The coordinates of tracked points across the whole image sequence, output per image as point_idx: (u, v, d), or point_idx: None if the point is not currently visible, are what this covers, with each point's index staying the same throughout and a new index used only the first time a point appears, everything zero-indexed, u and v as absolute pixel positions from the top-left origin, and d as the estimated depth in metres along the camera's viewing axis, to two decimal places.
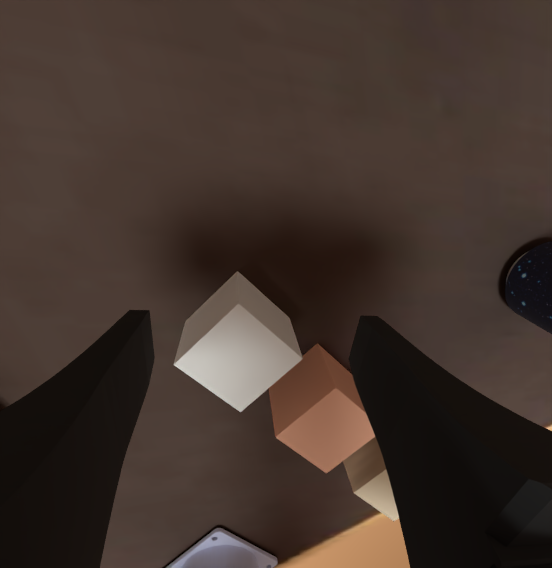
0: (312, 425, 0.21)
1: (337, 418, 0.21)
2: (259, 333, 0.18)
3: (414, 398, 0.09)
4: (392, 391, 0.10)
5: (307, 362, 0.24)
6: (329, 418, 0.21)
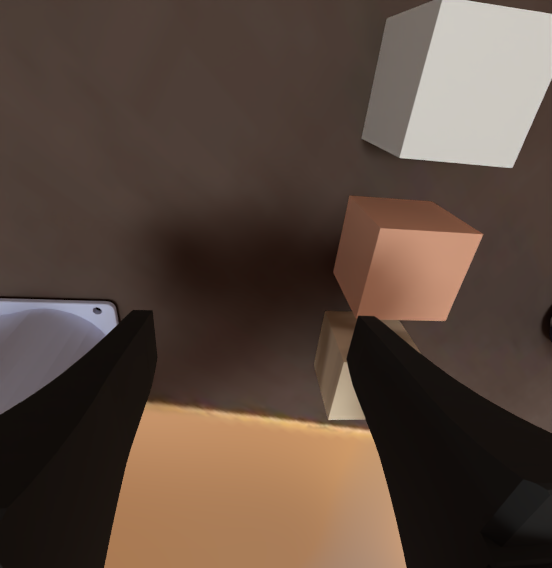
0: (418, 253, 0.16)
1: (439, 269, 0.17)
2: (535, 84, 0.13)
3: (411, 398, 0.09)
4: (389, 391, 0.10)
5: (420, 206, 0.19)
6: (436, 261, 0.16)
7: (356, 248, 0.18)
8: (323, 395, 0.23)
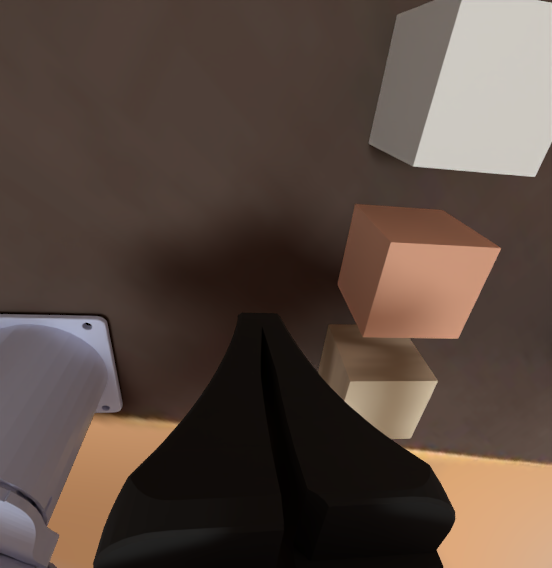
0: (431, 268, 0.15)
1: (453, 285, 0.15)
2: None
3: (276, 399, 0.08)
4: (269, 391, 0.09)
5: (431, 215, 0.18)
6: (449, 277, 0.15)
7: (363, 261, 0.17)
8: None
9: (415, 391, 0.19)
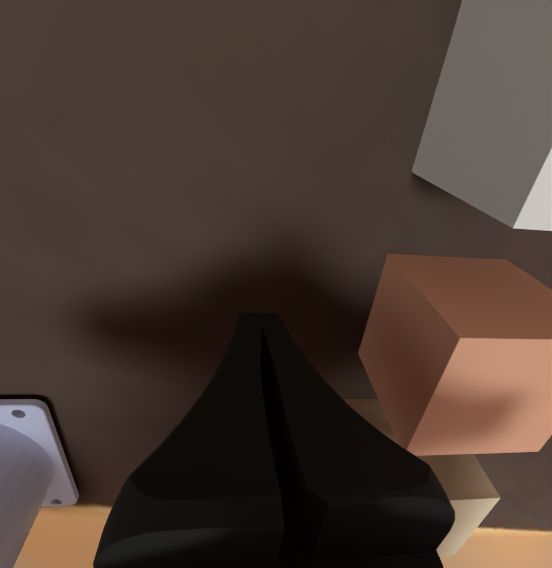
0: (516, 369, 0.10)
1: (545, 389, 0.10)
2: None
3: (276, 399, 0.08)
4: (269, 392, 0.09)
5: (496, 271, 0.12)
6: (542, 379, 0.10)
7: (403, 342, 0.12)
8: None
9: (468, 509, 0.14)
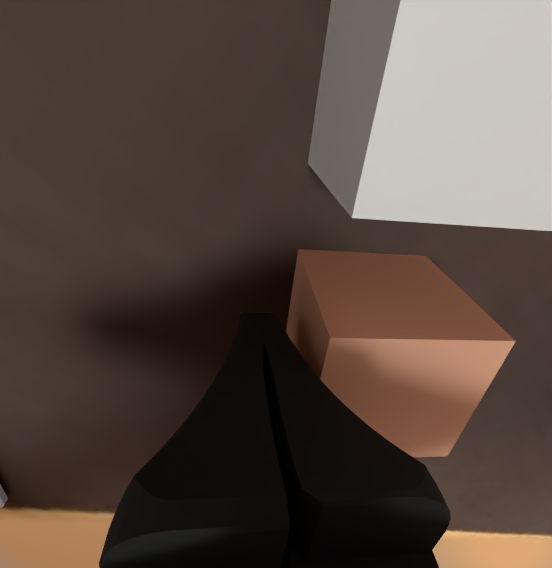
0: (401, 371, 0.09)
1: (438, 392, 0.10)
2: None
3: (273, 399, 0.08)
4: (266, 392, 0.09)
5: (408, 268, 0.12)
6: (432, 381, 0.09)
7: (303, 342, 0.11)
8: None
9: None
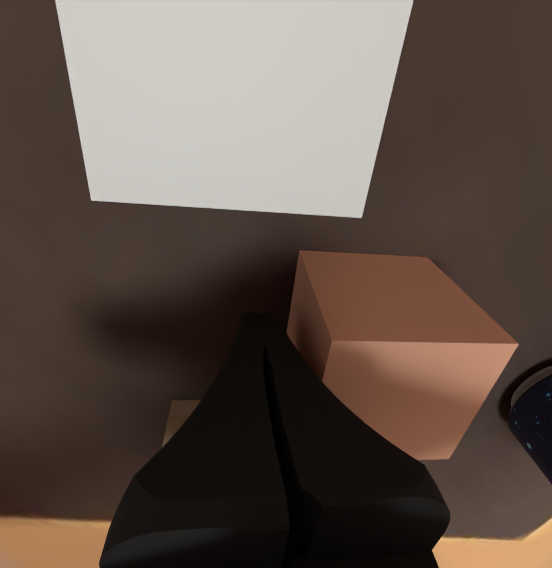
0: (403, 374, 0.09)
1: (441, 395, 0.10)
2: (373, 27, 0.05)
3: (273, 399, 0.08)
4: (266, 392, 0.09)
5: (410, 270, 0.12)
6: (434, 384, 0.09)
7: (304, 343, 0.11)
8: None
9: None
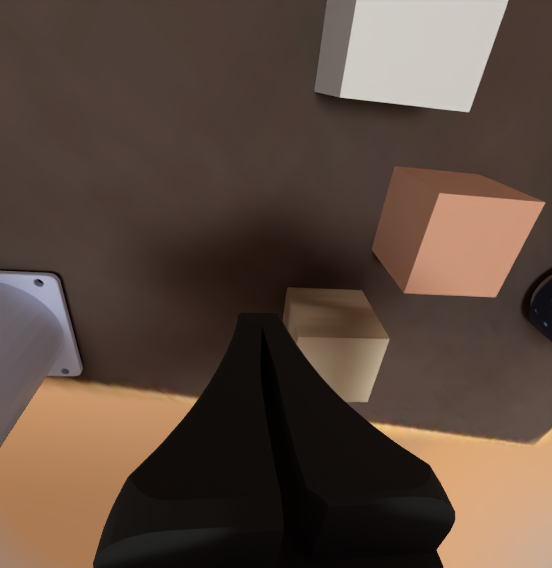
0: (476, 221, 0.15)
1: (496, 240, 0.16)
2: (490, 10, 0.11)
3: (276, 399, 0.08)
4: (269, 392, 0.09)
5: (470, 177, 0.18)
6: (493, 231, 0.16)
7: (404, 219, 0.17)
8: None
9: (367, 350, 0.19)
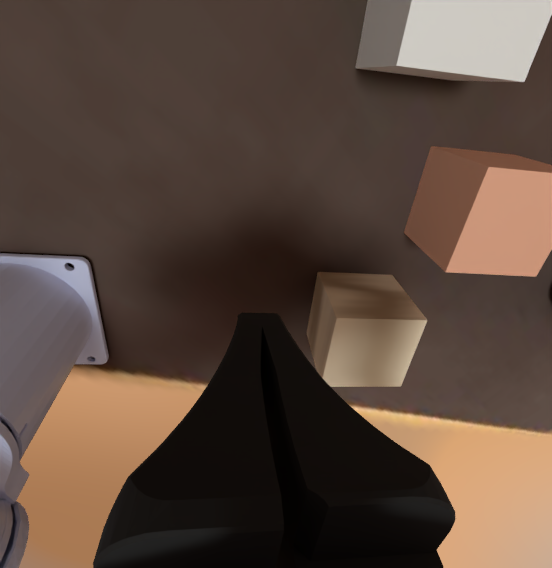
0: (522, 197, 0.15)
1: (541, 217, 0.16)
2: None
3: (276, 399, 0.08)
4: (269, 392, 0.09)
5: (508, 156, 0.18)
6: (539, 207, 0.15)
7: (444, 197, 0.17)
8: (316, 362, 0.21)
9: (404, 331, 0.18)
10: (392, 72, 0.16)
